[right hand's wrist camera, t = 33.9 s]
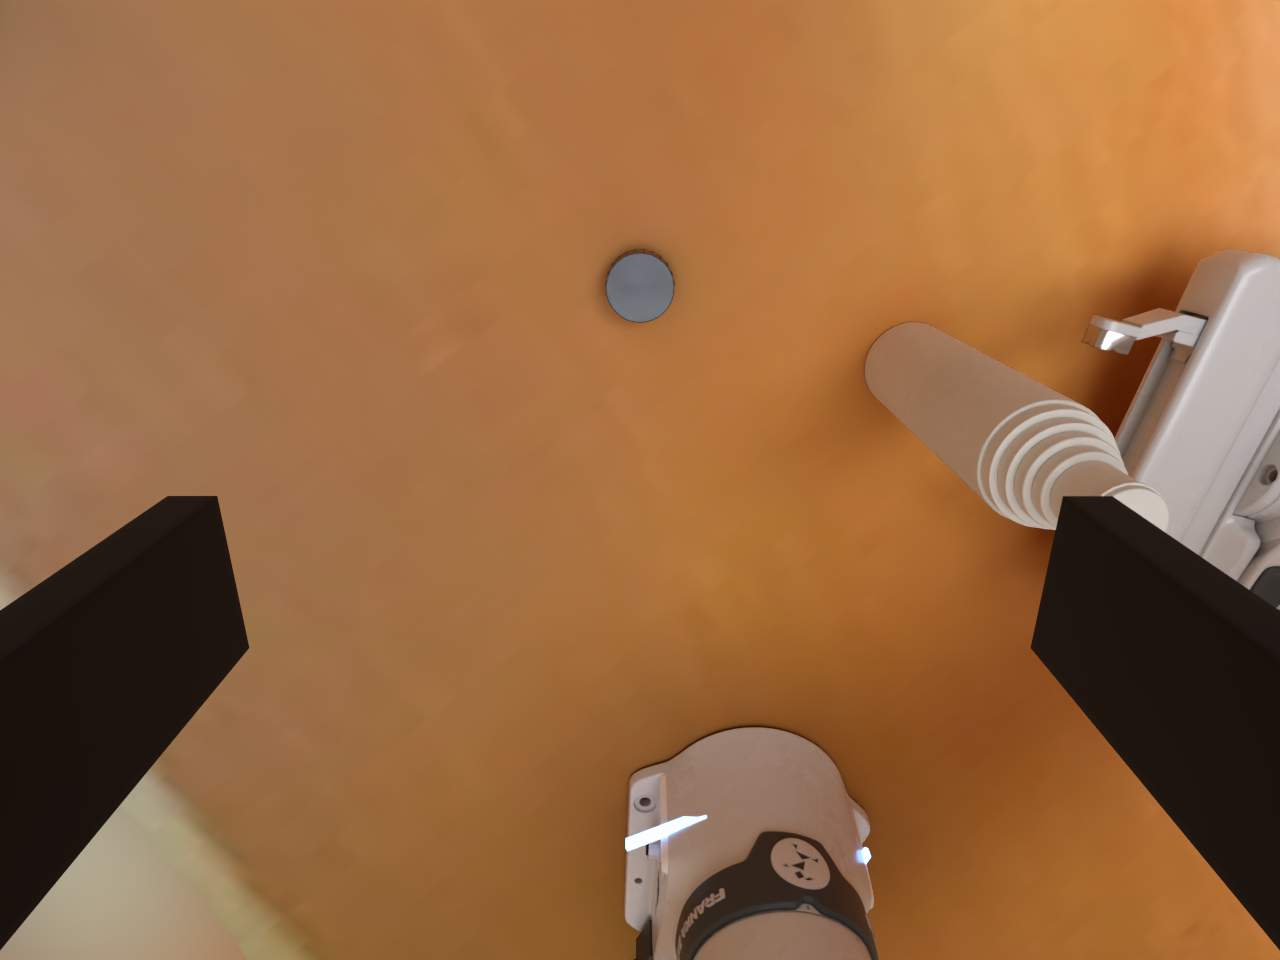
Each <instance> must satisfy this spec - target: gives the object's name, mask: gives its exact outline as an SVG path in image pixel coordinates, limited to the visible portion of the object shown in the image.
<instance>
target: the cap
mask: <svg viewBox="0 0 1280 960" xmlns="http://www.w3.org/2000/svg"><path fill="white" fill-rule="evenodd" d="M607 276H608V277H607V281H606V284H605V286H606V295H607V298H608V301H609V304H610V305H611V307H612V308H613V309H614V311H615V312H616V313H617V314H618V315H620V316H621V317H622V318H624V319H626V320H629V321H632V322H648V321H651V320H654V319H656V318H657V317H659V316H660V315H662V314H663V313H664V312H665V311H666V310H667V308H668V307H669V305H670V304H671V301H672V298H673V295H674V285H675V283H674V280H673V277H672V276H673V274H672V271H670V269H669V265H668V263H666V262H665V261H664V260H663V259H662V256H661V257H660V256H659V255H657V254H655V253H654V251H653V252H651V251H647V250H645V249H644V250H636V249H635V250H632V251H629V252H626V253H625V254H623V255H622V256H620V257H618V259H617V260H616V261H615V262H614V264H613V263H612V265H611V269H610V271H609V272H608V274H607Z"/></svg>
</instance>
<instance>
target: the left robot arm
mask: <svg viewBox="0 0 1280 960" xmlns="http://www.w3.org/2000/svg"><path fill="white" fill-rule="evenodd" d="M1152 336H1157V337H1160V338H1162V339H1161V341H1160V343H1159V346H1158V348H1157V350H1156V352H1155V354H1154V356H1153V358H1152V360H1151V362H1150V364H1149V366H1148V369H1147V371H1146V373H1145V375H1144V377H1143V379H1142V381H1141V383H1140V385H1139V388H1138V390H1137V392H1136V394H1135V396H1134V398H1133V400H1132V402H1131V404H1130V406H1129V408H1128V411H1127V413H1126V415H1125V417H1124V419H1123V421H1122V423H1121V425H1120V427H1119V429H1118V432H1117V434H1116V436H1115V438H1114V439H1115V441H1116V445H1117V447H1118V449H1119V451H1120V455H1121V458H1122V460H1123V463H1124V467H1125V468H1126V470H1127V473H1128V476H1130V477H1132V478H1133V479H1135V480H1136V481H1138V482H1140V483H1145V484H1147V485H1149V486H1151V487H1153V488H1154V489H1156V490H1157V491H1158V492H1159V493H1160V494H1161V496H1162V498H1163V499H1164V501H1165V502H1166V504H1167V507H1168V510H1169V523H1168V527H1167V530H1166V532H1165V533H1167V534H1168V535H1170V536H1171V537H1173V538H1174V539H1176V540H1177V541H1179V542H1180V543H1182V544H1183V545H1184V546H1186V547H1187V548H1189V549H1190V550H1192V551H1193V552H1195V553H1196V554H1198V555H1199V556H1201V557H1202V558H1203V559H1205V560H1206V561H1208V562H1209V563H1211V564H1212V565H1214V566H1215V567H1217V568H1218V569H1220V570H1221V571H1223V572H1224V573H1225V574H1227V575H1228V576H1230V577H1231V578H1233V579H1234V580H1236V581H1237V582H1239V583H1240V584H1242V585H1243V586H1244V587H1246V588H1247V589H1249V590H1250V591H1252V592H1253V593H1255V594H1256V595H1258V596H1259V597H1261V598H1262V599H1263V600H1265V601H1266V602H1268V603H1269V604H1271V605H1272V606H1274V607H1275V608H1277V609H1279V608H1280V258H1278V257H1274V256H1271V255H1267V254H1262V253H1257V252H1251V251H1245V250H1236V249H1224V250H1221V251H1219V252H1216V253H1214V254H1212V255H1209V256H1207V257H1205V258H1203V259H1202V260H1200V262H1199V263H1198V264H1197V266H1196V268H1195V270H1194V272H1193V274H1192V276H1191V278H1190V281H1189V283H1188V285H1187V287H1186V289H1185V291H1184V293H1183V295H1182V297H1181V299H1180V301H1179V304H1178V306H1177V308H1176V310H1175V312H1174V311H1170V310H1166V309H1162V308H1157V309H1154V310H1151V311H1147V312H1144V313H1141V314H1138V315H1135V316H1131V317H1128V318H1125V319H1123V320H1122V321H1117V320H1113V319H1109V318H1105V317H1101V316H1097V315H1093V317H1092V319H1091V321H1090V323H1089V326H1088V328H1087V330H1086V333H1085V335H1084V337H1083V339H1082V342H1083V343H1085V344H1089V345H1090V346H1093V347H1096V348H1100V349H1103V350H1107V351H1108V350H1110V351H1113V352H1116V353H1120V354H1124V355H1128V354H1129V352H1130V350H1131V348H1132V346H1133V344H1134V342H1135V340H1140V339H1144V338H1148V337H1152ZM642 798H648V799H642ZM869 833H870V824H869V819H868V816H867V814H866V812H865V811H864V810H863V809H862V808H861V807H860V806H859V805H858V804H857V803H856V802H855V801H854V800H853V799H851V798H850V797H849V795H848V793H847V791H846V789H845V786H844V783H843V780H842V777H841V775H840V773H839V771H838V769H837V767H836V765H835V764H834V762H833V761H832V760H831V759H830V757H829V756H828V755H827V754H826V753H825V752H824V751H823V750H821V749H820V748H819V747H818V746H816V745H815V744H813V743H812V742H810V741H808V740H807V739H805V738H803V737H800V736H798V735H796V734H793V733H790V732H787V731H783V730H778V729H773V728H764V727H747V728H737V729H731V730H727V731H723V732H719V733H716V734H713V735H711V736H708V737H706V738H704V739H702V740H700V741H698V742H696V743H694V744H693V745H691V746H689V747H688V748H687V749H685V750H684V751H683V752H681V753H680V754H679V755H677V756H676V757H674V758H673V759H671V760H669V761H667V762H664V763H661V764H657V765H654V766H650V767H647V768H644V769H642V770H639V771H637V772H636V773H634V774H633V775H632V776H631V778H630V781H629V796H628V819H627V838H626V847H625V848H626V867H625V891H624V912H625V920H626V922H627V923H628V924H629V925H630V926H632V927H633V928H634V929H636V930H637V931H639V932H640V935H639V936H638V938H637V939H636V959H635V960H878V956H877V951H876V941H875V936H874V933H873V929H872V926H871V923H870V921H869V918H868V916H867V914H868V912H869V909H872V908H873V905H874V895H873V890H872V886H871V881H870V877H869V872H868V868H867V862H868V861H869V859H870V858H871V855H870V852H869V849H868V848H866V847H864V848H863V846H862V843H863V842H864V841H865V839H866V838H867V836H868V835H869Z"/></svg>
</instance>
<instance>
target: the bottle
mask: <svg viewBox="0 0 1280 960" xmlns="http://www.w3.org/2000/svg"><path fill="white" fill-rule="evenodd" d="M865 379H866V383H867V385H868V388H869V390H870V391H871V393H872V394H873V395H874V396H875V397H876V398H877V399H878V400H879V401H880V402H881V403H882V404H883V405H884V406H885V407H886V408H887V409H888V410H889V411H890V412H891V413H892V414H893V415H894V416H895V417H896V418H898V419H899V420H900V421H901V422H902V423H903V424H904V425H905V426H906V427H907V428H908V429H909V430H910V431H911V432H912V433H913V434H914V435H915V436H916V437H917V438H918V439H920V440H921V441H922V442H923V443H924V444H925V445H926V446H927V447H928V448H929V449H930V450H931V451H932V452H933V453H934V454H935V455H936V456H937V457H938V458H939V459H941V460H942V461H943V462H944V463H945V464H946V465H947V466H948V467H949V468H950V469H951V470H952V471H953V472H954V473H955V474H956V475H957V476H958V477H959V478H960V479H961V480H963V481H964V482H965V483H966V484H967V485H968V486H969V487H970V488H971V489H972V490H973V491H974V492H975V493H976V494H977V495H978V496H979V497H980V498H981V499H982V500H984V501H985V502H986V503H987V504H988V505H989V506H990V507H991V508H992V509H993V510H994V511H996V512H997V513H998V514H1000V515H1002V516H1004V517H1005V518H1008V519H1010V520H1012V521H1014V522H1016V523H1018V524H1021V525H1024V526H1028V527H1035V528H1042V529H1051V530H1056V526H1057V522H1058V517H1059V512H1060V507H1061V503H1062V498H1063V496H1113V497H1114V498H1116V499H1117V500H1119V501H1120V502H1122V503H1123V504H1124V505H1126V506H1127V507H1129V508H1130V509H1132V510H1133V511H1135V512H1136V513H1138V514H1139V515H1141V516H1142V517H1144V518H1145V519H1146V520H1148V521H1149V522H1151V523H1152V524H1154V525H1155V526H1157V527H1158V528H1160V529H1161V530H1163V531H1164V532H1166V530H1167V527H1168V523H1169V510H1168V507H1167V504H1166V502H1165V501H1164V499H1163V498H1162V496H1161V494H1160V493H1159V492H1158V491H1157V490H1156V489H1154V488H1153V487H1151V486H1149V485H1147V484H1145V483H1140V482H1138V481H1136V480H1135V479H1133V478H1132V477H1130V476H1128V473H1127V470H1126V468H1125V467H1124V463H1123V460H1122V458H1121V455H1120V451H1119V449H1118V447H1117V445H1116V441H1115V439H1114V437H1113V434H1112V433H1111V431H1110V430H1109V428H1108V427H1107V426H1106V425H1105V424H1104V423H1103V422H1102V421H1101V420H1100V419H1099V417H1098V416H1097V415H1096V414H1095V413H1094V412H1092V411H1091V410H1090V409H1088V408H1087V407H1085V406H1083V405H1081V404H1079V403H1077V402H1076V401H1074V400H1072V399H1070V398H1068V397H1066V396H1064V395H1062V394H1060V393H1058V392H1057V391H1055V390H1053V389H1051V388H1049V387H1047V386H1045V385H1043V384H1041V383H1039V382H1037V381H1036V380H1034V379H1032V378H1030V377H1028V376H1026V375H1024V374H1022V373H1020V372H1018V371H1016V370H1015V369H1013V368H1011V367H1009V366H1007V365H1005V364H1003V363H1001V362H999V361H997V360H996V359H994V358H992V357H990V356H988V355H986V354H984V353H982V352H980V351H978V350H976V349H975V348H973V347H971V346H969V345H967V344H965V343H963V342H961V341H959V340H957V339H955V338H954V337H952V336H950V335H948V334H946V333H944V332H942V331H940V330H938V329H936V328H934V327H933V326H930V325H928V324H924V323H918V322H910V323H904V324H900V325H897V326H895V327H893V328H891V329H889V330H887V331H886V332H885V333H883V334H882V335H881V336H880V337H879V338H878V339H877V340H876V341H875V343H874V344H873V345H872V347H871V349H870V351H869V353H868V355H867V358H866V362H865Z"/></svg>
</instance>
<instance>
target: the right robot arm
mask: <svg viewBox="0 0 1280 960" xmlns="http://www.w3.org/2000/svg"><path fill="white" fill-rule="evenodd" d="M248 649H249V644H248V640H247V635H246V630H245V626H244V621H243V616H242V611H241V607H240V602H239V597H238V592H237V588H236V583H235V578H234V574H233V569H232V564H231V559H230V555H229V550H228V545H227V540H226V536H225V531H224V526H223V522H222V517H221V512H220V507H219V503H218V498H217V496H167V497H166V498H164V499H163V500H161V501H160V502H158V503H157V504H156V505H154V506H153V507H151V508H150V509H148V510H147V511H145V512H144V513H142V514H141V515H139V516H138V517H136V518H135V519H134V520H132V521H131V522H129V523H128V524H126V525H125V526H123V527H122V528H120V529H119V530H117V531H116V532H115V533H113V534H112V535H110V536H109V537H107V538H106V539H104V540H103V541H101V542H100V543H98V544H97V545H96V546H94V547H93V548H91V549H90V550H88V551H87V552H85V553H84V554H82V555H81V556H79V557H78V558H77V559H75V560H74V561H72V562H71V563H69V564H68V565H66V566H65V567H63V568H62V569H60V570H59V571H57V572H56V573H55V574H53V575H52V576H50V577H49V578H47V579H46V580H44V581H43V582H41V583H40V584H38V585H37V586H36V587H34V588H33V589H31V590H30V591H28V592H27V593H25V594H24V595H22V596H21V597H19V598H18V599H17V600H15V601H14V602H12V603H11V604H9V605H8V606H6V607H5V608H3V609H2V610H0V950H1V949H2V947H3V946H4V945H5V944H6V943H7V941H8V940H9V939H10V938H11V937H12V935H13V934H14V933H15V932H16V930H17V929H18V928H19V927H20V926H21V924H22V923H23V922H24V921H25V920H26V918H27V917H28V916H29V915H30V913H31V912H32V911H33V910H34V909H35V907H36V906H37V905H38V904H39V903H40V901H41V900H42V899H43V898H44V896H45V895H46V894H47V893H48V892H49V890H50V889H51V888H52V887H53V885H54V884H55V883H56V882H57V881H58V879H59V878H60V877H61V876H62V875H63V873H64V872H65V871H66V870H67V869H68V867H69V866H70V865H71V864H72V862H73V861H74V860H75V859H76V858H77V856H78V855H79V854H80V853H81V852H82V850H83V849H84V848H85V847H86V845H87V844H88V843H89V842H90V841H91V839H92V838H93V837H94V836H95V835H96V833H97V832H98V831H99V830H100V828H101V827H102V826H103V825H104V823H105V822H106V821H107V820H108V819H109V817H110V816H111V815H112V814H113V813H114V811H115V810H116V809H117V808H118V807H119V805H120V804H121V803H122V802H123V801H124V799H125V798H126V797H127V796H128V794H129V793H130V792H131V791H132V790H133V788H134V787H135V786H136V785H137V784H138V782H139V781H140V780H141V779H142V777H143V776H144V775H145V774H146V773H147V771H148V770H149V769H150V768H151V767H152V765H153V764H154V763H155V762H156V760H157V759H158V758H159V757H160V756H161V754H162V753H163V752H164V751H165V750H166V748H167V747H168V746H169V745H170V743H171V742H172V741H173V740H174V739H175V737H176V736H177V735H178V734H179V733H180V731H181V730H182V729H183V728H184V726H185V725H186V724H187V723H188V722H189V720H190V719H191V718H192V717H193V716H194V714H195V713H196V712H197V711H198V709H199V708H200V707H201V706H202V705H203V703H204V702H205V701H206V700H207V699H208V697H209V696H210V695H211V694H212V692H213V691H214V690H215V689H216V688H217V686H218V685H219V684H220V683H221V682H222V680H223V679H224V678H225V677H226V675H227V674H228V673H229V672H230V671H231V669H232V668H233V667H234V666H235V665H236V663H237V662H238V661H239V660H240V658H241V657H242V656H243V655H244V654H245V652H246V651H247V650H248ZM1031 649H1032V650H1033V651H1034V652H1035V654H1036V655H1037V656H1038V657H1039V658H1040V660H1041V661H1042V662H1043V663H1044V665H1045V666H1046V667H1047V668H1048V669H1049V671H1050V672H1051V673H1052V674H1053V675H1054V677H1055V678H1056V679H1057V680H1058V682H1059V683H1060V684H1061V685H1062V686H1063V688H1064V689H1065V690H1066V691H1067V692H1068V694H1069V695H1070V696H1071V697H1072V699H1073V700H1074V701H1075V702H1076V703H1077V705H1078V706H1079V707H1080V708H1081V709H1082V711H1083V712H1084V713H1085V714H1086V716H1087V717H1088V718H1089V719H1090V720H1091V722H1092V723H1093V724H1094V725H1095V726H1096V728H1097V729H1098V730H1099V731H1100V733H1101V734H1102V735H1103V736H1104V737H1105V739H1106V740H1107V741H1108V742H1109V743H1110V745H1111V746H1112V747H1113V748H1114V750H1115V751H1116V752H1117V753H1118V754H1119V756H1120V757H1121V758H1122V759H1123V760H1124V762H1125V763H1126V764H1127V765H1128V767H1129V768H1130V769H1131V770H1132V771H1133V773H1134V774H1135V775H1136V776H1137V777H1138V779H1139V780H1140V781H1141V782H1142V784H1143V785H1144V786H1145V787H1146V788H1147V790H1148V791H1149V792H1150V793H1151V794H1152V796H1153V797H1154V798H1155V799H1156V801H1157V802H1158V803H1159V804H1160V805H1161V807H1162V808H1163V809H1164V810H1165V811H1166V813H1167V814H1168V815H1169V816H1170V818H1171V819H1172V820H1173V821H1174V822H1175V824H1176V825H1177V826H1178V827H1179V828H1180V830H1181V831H1182V832H1183V833H1184V835H1185V836H1186V837H1187V838H1188V839H1189V841H1190V842H1191V843H1192V844H1193V845H1194V847H1195V848H1196V849H1197V850H1198V852H1199V853H1200V854H1201V855H1202V856H1203V858H1204V859H1205V860H1206V861H1207V862H1208V864H1209V865H1210V866H1211V867H1212V869H1213V870H1214V871H1215V872H1216V873H1217V875H1218V876H1219V877H1220V878H1221V879H1222V881H1223V882H1224V883H1225V884H1226V886H1227V887H1228V888H1229V889H1230V890H1231V892H1232V893H1233V894H1234V895H1235V896H1236V898H1237V899H1238V900H1239V901H1240V903H1241V904H1242V905H1243V906H1244V907H1245V909H1246V910H1247V911H1248V912H1249V913H1250V915H1251V916H1252V917H1253V918H1254V920H1255V921H1256V922H1257V923H1258V924H1259V926H1260V927H1261V928H1262V929H1263V930H1264V932H1265V933H1266V934H1267V935H1268V937H1269V938H1270V939H1271V940H1272V941H1273V943H1274V944H1275V945H1276V946H1277V947H1278V949H1279V950H1280V610H1278V609H1277V608H1275V607H1274V606H1272V605H1271V604H1269V603H1268V602H1266V601H1265V600H1263V599H1262V598H1261V597H1259V596H1258V595H1256V594H1255V593H1253V592H1252V591H1250V590H1249V589H1247V588H1246V587H1244V586H1243V585H1242V584H1240V583H1239V582H1237V581H1236V580H1234V579H1233V578H1231V577H1230V576H1228V575H1227V574H1225V573H1224V572H1223V571H1221V570H1220V569H1218V568H1217V567H1215V566H1214V565H1212V564H1211V563H1209V562H1208V561H1206V560H1205V559H1203V558H1202V557H1201V556H1199V555H1198V554H1196V553H1195V552H1193V551H1192V550H1190V549H1189V548H1187V547H1186V546H1184V545H1183V544H1182V543H1180V542H1179V541H1177V540H1176V539H1174V538H1173V537H1171V536H1170V535H1168V534H1167V533H1165V532H1164V531H1163V530H1161V529H1160V528H1158V527H1157V526H1155V525H1154V524H1152V523H1151V522H1149V521H1148V520H1146V519H1145V518H1144V517H1142V516H1141V515H1139V514H1138V513H1136V512H1135V511H1133V510H1132V509H1130V508H1129V507H1127V506H1126V505H1124V504H1123V503H1122V502H1120V501H1119V500H1117V499H1116V498H1114V497H1113V496H1063V498H1062V503H1061V507H1060V512H1059V517H1058V522H1057V526H1056V531H1055V536H1054V540H1053V545H1052V550H1051V555H1050V559H1049V564H1048V569H1047V574H1046V578H1045V583H1044V588H1043V592H1042V597H1041V602H1040V607H1039V611H1038V616H1037V621H1036V625H1035V630H1034V635H1033V640H1032V644H1031Z"/></svg>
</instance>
